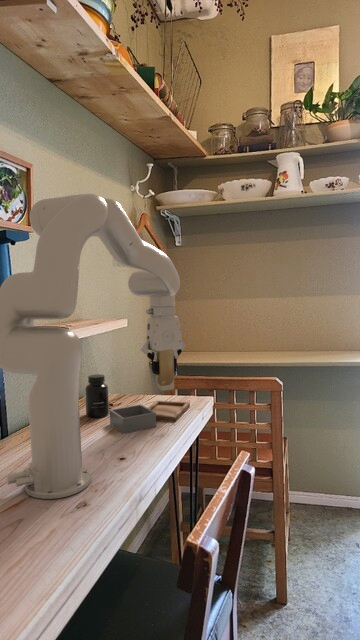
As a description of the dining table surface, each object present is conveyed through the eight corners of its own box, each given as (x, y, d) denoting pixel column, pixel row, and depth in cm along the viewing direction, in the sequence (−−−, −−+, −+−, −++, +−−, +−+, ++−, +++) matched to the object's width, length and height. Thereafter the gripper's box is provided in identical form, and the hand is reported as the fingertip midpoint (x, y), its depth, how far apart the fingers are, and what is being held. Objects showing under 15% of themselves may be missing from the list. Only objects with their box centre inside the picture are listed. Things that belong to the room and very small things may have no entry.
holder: (123, 433, 117) (122, 418, 116) (110, 423, 125) (109, 409, 125) (156, 426, 121) (155, 412, 121) (141, 417, 130) (140, 404, 129)
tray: (175, 422, 125) (175, 417, 125) (139, 419, 128) (139, 414, 128) (189, 406, 140) (189, 402, 139) (156, 404, 143) (156, 400, 142)
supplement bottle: (96, 419, 129) (95, 379, 128) (81, 415, 133) (79, 376, 132) (113, 413, 134) (112, 375, 133) (98, 410, 138) (96, 372, 137)
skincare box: (155, 386, 136) (154, 347, 134) (169, 385, 137) (167, 345, 136) (160, 391, 130) (159, 350, 128) (175, 389, 131) (173, 349, 130)
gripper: (141, 315, 124) (144, 378, 125) (193, 311, 132) (195, 371, 134) (131, 313, 130) (133, 374, 132) (181, 310, 138) (182, 367, 140)
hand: (164, 372), depth 133 cm, fingers closed on skincare box, 5 cm apart
